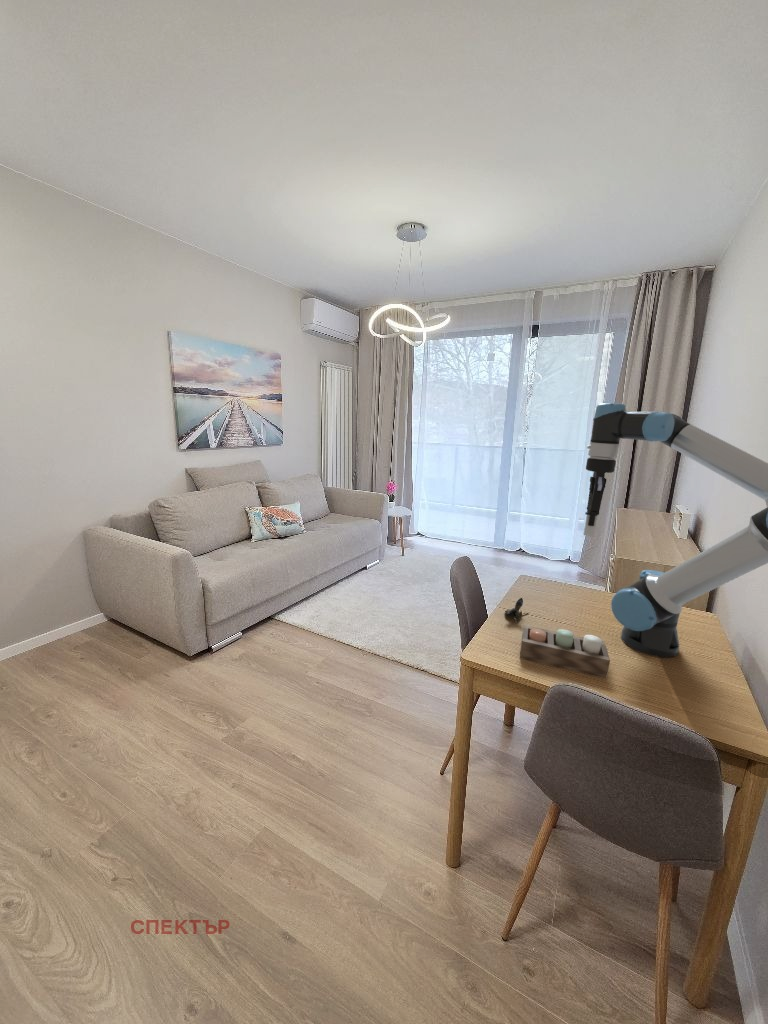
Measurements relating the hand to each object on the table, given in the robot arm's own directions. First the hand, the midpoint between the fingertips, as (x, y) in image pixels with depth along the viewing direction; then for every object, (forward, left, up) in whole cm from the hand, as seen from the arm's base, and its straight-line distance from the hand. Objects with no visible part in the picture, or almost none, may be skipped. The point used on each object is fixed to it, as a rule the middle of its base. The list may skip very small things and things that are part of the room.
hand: (588, 535), depth 126 cm
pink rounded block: (+11, +19, -31) cm, 38 cm away
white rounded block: (-3, +19, -29) cm, 35 cm away
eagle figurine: (+18, -1, -33) cm, 37 cm away
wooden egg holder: (+4, +19, -32) cm, 38 cm away
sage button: (+4, +19, -29) cm, 35 cm away
